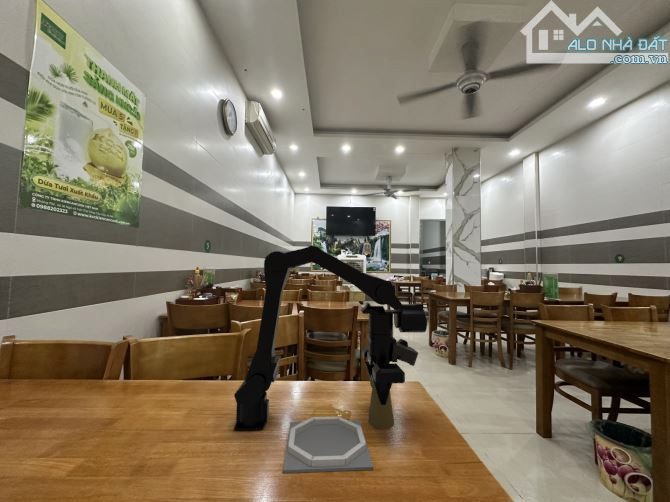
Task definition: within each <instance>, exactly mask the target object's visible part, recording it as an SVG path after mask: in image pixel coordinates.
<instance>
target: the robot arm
mask: <svg viewBox="0 0 670 502" xmlns="http://www.w3.org/2000/svg"><path fill="white" fill-rule="evenodd" d="M310 263H313V264H315V265H317V266H319V267H321V268H322V269H325V270H326V271H327V272H330V273H332V274H333V275H335V276H337V277H338V278H341V279H342V280H345V281H346V282H348V283H350V284H351V285H353V286H354V287H356V288H357V289H358V290H360V291H361V292H362V293H363V294H364V295H366V297H368V298H369V299H370V300H372V301H373V302H374V303H376V304H378V305H372V304H371V303H369V302H366V303H365V305H364V306H363V307H362V308H360V312H361V313H362V314H363V315H364V314H365V315H368V333H367V334H366V335H367V337H366V338H367V340H368V345H365V346H364V347H363V349H362V350H361V357H362V358H363V360H365V361H364V365H365V368H366V371H367V374H368V376H369V378H370V377H372V380H373V383H374V386H375V389H376V392H377V395H378V398H379V400H380V403H381V405H386V402H387V399H388V395H389V392H390V393H391V389H392V386H393V384H404V383H405V382H406V373H405V371H404V370H403V369H402V368H401V367H400V366H399V364H397V363H398V361H401V362H404V363H406V364H409V365H410V366H413V367H414V366H415V365H416V361H417V358H418V355H419V352H418V351H417V350H415V348H413V347H411V346H409V343H408V341H407V340H405V339H403V338H399V339H398V340H397V339H396V338H395V337H394V327H395V329H398V331H399V333H426V331H427V328H428V327H427V326H428V319H427V316H426V312H425V310H424V304H423V303H420V302H418V303H417V302H416V303H415V302H414V303H402V302H401V301H400V299H399V298H398V297H397V295H396V290H395V287H394V284H393V283H392V282H390V281H389V280H387V279H384V278H380V277H378V276H374V275H373V274H372V275H371V274H368V273H365V272H363V271H362V270H361V271H360V270H358V269H356V268H355V267H353V266H352V265H349V264H348V263H346V262H344V261H342V260H341V259H339V258H337V257H335V256H334V255H332V254H329V253H328V252H326V251H325V250H323V249H321V248H320V247H319V246H317V245H315V244H311V245H309V246H306V247H302V248H298V249H294V250H291V251H287V252H282V251H279V250H277V251H272V252H270V253H268V254H267V255H266V257H265V259H264V261H263V276H264V277H263V279H264V285H265V294H264V300H263V307H262V311H261V312H262V313H261V319H260V325H259V330H258V331H259V332H258V337H257V343H256V348H255V353H254V354H253V357H252V360H251V362H250V364H249V368H248V371H247V372H246V376H245V379H244V380H243V382H242V383H241V384H240V386H239V387H238V389H237V390H236V391H235V393H234V394H233V395H234V399H235V403H236V409H235V410H236V414H235V417H236V418H235V424H234V426H233V430H234V431H257V430H258V431H260V430H264V428H265V427H266V426H265V425H266V423H267V422H268V420H269V417H270V400H269V398H268V392H267V391H269V390H270V388H271V385H272V383H275V381H276V379H277V377H278V374H279V371H280V370H279V363H280V360H281V355H276V352H275V346H276V339H277V333H278V328H279V327H278V326H279V320H280V314H281V307H282V300H283V294H284V289H285V287H286V285H287V283H288V280H289V277H290V274H291V271H292V269H294V268H297V267H301V266H305V265H307V264H310ZM385 305H387V306H388V307H390V308H392V309H385V307H384V306H385ZM391 385H392V386H391Z"/></svg>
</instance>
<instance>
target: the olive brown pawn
mask: <svg viewBox="0 0 670 502" xmlns="http://www.w3.org/2000/svg"><path fill="white" fill-rule="evenodd" d="M369 384H370V387H371V394H370V402H369V409H368V410H369V411H368V417H367V423H368V424H369V426H371V427H373V428H376V429H380V430H386V429H390V428H393V426H394V425H395V420H394V410H393V404H392V403H393V402H392V396H391V395H392V394H391V391H390V392H389V395H388V399H387V402H386V405H381V403H380V400H379V398H378V395H377V392H376V389H375V386H374V383H373V380H372V377H370V376H369ZM391 387H393V384H392V385H391Z"/></svg>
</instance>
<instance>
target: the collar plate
mask: <svg viewBox="0 0 670 502" xmlns="http://www.w3.org/2000/svg"><path fill="white" fill-rule="evenodd" d="M289 424H290V425H289V428H288V429H289V430H288V434H287V435H288V437H287V443H286V449H285V455H284V460H283V466H282V474H295V473H296V474H299V473H318V472H319V473H321V472H323V473H325V472H343V471H344V472H345V471H348V472H349V471H352V472H353V471H372V470H374V464H373V461H372V457H371V454H370V450H369V448H368V447H369V446H368V443H367V441H366V437H365V433H364V430H363V426H362V423H361V420H360V419H357V420H356V419H354V420H352V419H351V420H350V419H349V420H347V419H346V418H344V417H341V416H316V417H315V416H312V417H309V418H308V419H306V420H304V421H291V422H290V423H289Z"/></svg>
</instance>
